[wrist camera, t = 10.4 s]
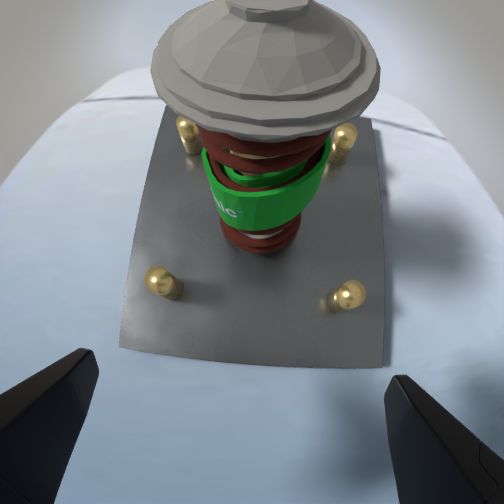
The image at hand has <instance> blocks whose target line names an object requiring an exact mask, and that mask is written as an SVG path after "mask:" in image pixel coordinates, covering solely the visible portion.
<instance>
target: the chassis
mask: <svg viewBox="0 0 504 504" xmlns="http://www.w3.org/2000/svg"><path fill="white" fill-rule="evenodd" d="M330 138H331V151H330V154H329V157H328V160H327V163H326V166H325V169H324V172H323V175H322V178H321V182H320V185H319V188H318V190H317V192H316V194H315V195H314V197H313V198H312V200H311V202H310V203H309V204H308V205H307V206H306V208H305V209H304V210H303V211H302V213H301V223H300V227H299V230H298V232H297V234H296V236H295V237H294V238H293V239H292V240H291V241H290V242H289V243H288V244H287V245H286V246H285V247H283V248H281V249H279V250H277V251H275V252H269V253H252V252H248V251H244V250H242V249H240V248H239V247H237V246H236V245H234V244H233V243H232V242H231V241H230V240H229V239H228V238H227V237H226V235H225V234H224V232H223V230H222V228H221V224H220V215H219V211H218V208H217V205H216V202H215V199H214V196H213V193H212V190H211V186H210V183H209V180H208V177H207V173H206V170H205V167H204V163H203V160H202V156H201V153H202V150H203V147H204V146H203V143H202V141H201V138H200V131H199V129H198V128H197V126H196V124H195V123H193V122H191V121H189V120H187V119H185V118H183V117H181V116H179V115H177V114H176V113H175V112H174V111H173V110H172V109H171V108H170V107H169V106H168V105H166V107H165V110H164V114H163V117H162V120H161V124H160V127H159V131H158V135H157V138H156V142H155V146H154V149H153V153H152V157H151V161H150V165H149V169H148V173H147V177H146V182H145V186H144V190H143V195H142V199H141V204H140V209H139V214H138V219H137V224H136V229H135V234H134V240H133V245H132V251H131V257H130V263H129V269H128V276H127V282H126V289H125V297H124V304H123V313H122V321H121V331H120V341H119V347H120V348H125V349H131V350H137V351H143V352H149V353H156V354H162V355H169V356H176V357H184V358H192V359H200V360H209V361H218V362H228V363H239V364H252V365H266V366H283V367H307V368H382V360H383V343H384V314H385V269H384V239H383V221H382V207H381V195H380V184H379V175H378V166H377V157H376V149H375V142H374V135H373V128H372V122H371V119H368V118H362V117H358V118H355V119H353V120H351V121H348V122H346V123H344V124H342V125H340V126H337V127H335V128H333V129H332V131H331V132H330Z"/></svg>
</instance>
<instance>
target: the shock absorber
mask: <svg viewBox="0 0 504 504" xmlns="http://www.w3.org/2000/svg"><path fill="white" fill-rule="evenodd" d="M150 71H151V75H152V79H153V82H154V86H155V89H156V92H157V94H158V96H159V97H160V98H161V99H162V100H163V101H164V102H165V103H166V104H167V105H168V106H169V107H170V108H171V109H172V110H173V111H174V112H175V113H176V114H177V115H179V116H181V117H183V118H185V119H187V120H189V121H191V122H193V123H195V124H196V126H197V128H198V129H199V131H200V138H201V141H202V143H203V146H204V147H203V150H202V153H201V156H202V160H203V163H204V167H205V170H206V173H207V177H208V180H209V183H210V186H211V190H212V193H213V196H214V199H215V202H216V205H217V208H218V211H219V215H220V224H221V228H222V230H223V232H224V234H225V235H226V237H227V238H228V239H229V240H230V241H231V242H232V243H233V244H234V245H236V246H237V247H239V248H240V249H242V250H244V251H248V252H252V253H269V252H275V251H277V250H279V249H281V248H283V247H285V246H286V245H287V244H288V243H289V242H290V241H291V240H292V239H293V238H294V237H295V236H296V234H297V232H298V230H299V227H300V223H301V213H302V211H303V210H304V209H305V208H306V206H307V205H308V204H309V203H310V202H311V200H312V198H313V197H314V195H315V194H316V192H317V190H318V188H319V185H320V182H321V178H322V175H323V172H324V169H325V166H326V163H327V160H328V157H329V154H330V151H331V138H330V132H331V131H332V129H333V128H335V127H337V126H340V125H342V124H344V123H346V122H348V121H351V120H353V119H355V118H358V117H359V116H360V115H361V114H362V113H363V111H364V110H365V109H366V108H367V107H368V106H369V104H370V103H371V102H372V101H373V100H374V98H375V96H376V94H377V92H378V90H379V83H380V65H379V62H378V59H377V57H376V53H375V51H374V49H373V48H372V46H371V44H370V42H369V41H368V39H367V37H366V35H365V34H364V33H363V32H362V31H361V30H360V29H359V28H358V27H357V26H356V25H355V24H354V23H353V22H352V21H351V20H349V19H347V18H346V17H344V16H342V15H341V14H339V13H337V12H335V11H333V10H331V9H330V8H328V7H326V6H324V5H322V4H319V3H317V2H316V1H314V0H214V1H211V2H208V3H206V4H203V5H201V6H199V7H197V8H194V9H192V10H190V11H188V12H187V13H186V14H184V15H183V16H182V17H180V18H179V19H178V20H177V21H175V22H174V23H173V24H172V25H170V27H169V28H168V29H167V30H166V32H165V33H164V34H163V36H162V37H161V39H160V40H159V42H158V45H157V47H156V48H155V49H154V53H153V58H152V64H151V70H150Z"/></svg>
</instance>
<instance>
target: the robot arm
mask: <svg viewBox="0 0 504 504" xmlns="http://www.w3.org/2000/svg"><path fill="white" fill-rule="evenodd" d="M98 376H99V368H98V365H97V362H96V359H95V356H94V353H93V351H92V350H90V349H85V348H79V349H77V350H75V351H74V352H72V353H70V354H68V355H67V356H65V357H63V358H62V359H60V360H58V361H57V362H55V363H53V364H51V365H50V366H48V367H46V368H45V369H43V370H41V371H40V372H38V373H36V374H34V375H33V376H31V377H29V378H28V379H26V380H24V381H23V382H21V383H19V384H17V385H16V386H14V387H12V388H11V389H9V390H7V391H6V392H4V393H2V394H0V504H54V502H55V499H56V496H57V493H58V490H59V487H60V484H61V481H62V478H63V475H64V473H65V470H66V467H67V465H68V462H69V459H70V456H71V454H72V451H73V449H74V446H75V443H76V441H77V438H78V436H79V433H80V431H81V428H82V426H83V423H84V421H85V418H86V416H87V413H88V410H89V406H90V403H91V399H92V396H93V392H94V389H95V386H96V383H97V379H98ZM384 404H385V413H386V423H387V434H388V443H389V448H390V453H391V458H392V463H393V469H394V474H395V480H396V485H397V491H398V497H399V503H400V504H504V460H503V459H502V458H501V457H499V456H498V455H497V454H496V453H495V452H493V451H492V450H491V449H490V448H489V447H488V446H486V445H485V444H484V443H483V442H482V441H480V439H479V438H477V437H476V436H475V435H474V434H473V433H472V432H471V431H470V430H468V429H467V428H466V427H465V426H464V425H463V424H462V423H461V422H460V421H458V420H457V419H456V418H455V417H454V416H453V415H452V414H451V413H449V412H448V411H447V410H446V409H445V408H444V407H443V406H442V405H440V404H439V403H438V402H437V401H436V400H435V399H434V398H433V397H431V396H430V395H429V394H428V393H427V392H426V391H425V390H423V389H422V388H421V387H420V386H419V385H418V384H417V383H416V382H414V381H413V380H412V379H411V378H410V377H409V376H407V375H395V376H393V377H392V379H391V381H390V384H389V386H388V388H387V390H386V392H385V395H384Z"/></svg>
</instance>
